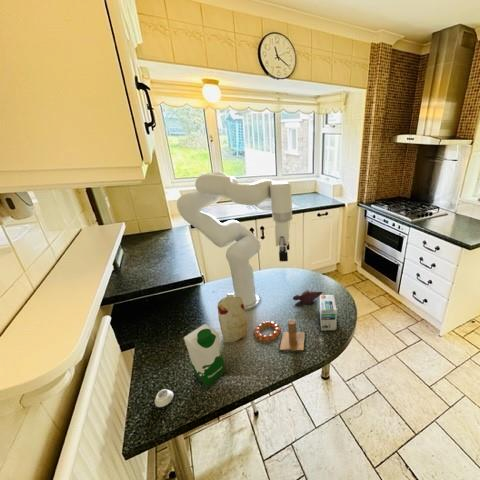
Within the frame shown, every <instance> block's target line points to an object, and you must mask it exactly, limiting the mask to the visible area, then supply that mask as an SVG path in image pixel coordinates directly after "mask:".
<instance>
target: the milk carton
mask: <svg viewBox="0 0 480 480" xmlns="http://www.w3.org/2000/svg"><path fill="white" fill-rule="evenodd" d="M183 341H184V343H185V346H186V348H187V349H186V350H187V352H188V355H189V359H190V362H191V366H192V370H193V373H194V376H195V377H196V378H197V379H198V380H199V382H201V383H202V384H203V385H205V386H206V388H210V387H211V386H212V385H213V384H214V383H215V382H216V381H218V380H219V379H220V378H221V377H223V373H225V371H226V366H225V361H224V357H223V352H222V347H221V343H220V333H219V332H218V331H217V330H215V329H213V328H212V327H211V326H210V325H209V326H208V325H207V324H206V323H203V324H201V326H199V327H198V328H196V329H195V330H193V331H191V332H189V333H188V334H187V335H186V336H183Z"/></svg>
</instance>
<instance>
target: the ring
mask: <svg viewBox="0 0 480 480" xmlns="http://www.w3.org/2000/svg"><path fill="white" fill-rule="evenodd" d="M267 327H270V328H272V329H273V332H272V333H271V334H268V335H263V334H262V333H261V332H262V330H263V329H264V328H267ZM280 334H281V327H280V324H278V323H277V322H276V321H272V320H271V321H269V320H268V321H263V322H261V323H259V324H258V325H257V326H256V327H255V328H254V331H253V335H254V337H255V339H256V340H258V341H260V342H270V341H274V340H275V339H276V338H277V337H279V335H280Z"/></svg>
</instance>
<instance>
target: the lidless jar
mask: <svg viewBox="0 0 480 480" xmlns="http://www.w3.org/2000/svg"><path fill="white" fill-rule="evenodd" d="M173 399H174V392H173V391H172V390H170V389H167V388H163V389H161V390H159V391H158V392H157V394H156V396H155V398H154V405H155V407H157V408H163V407H165V406H167V405H169V404H170V403H171V402H172V400H173Z"/></svg>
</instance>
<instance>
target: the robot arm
mask: <svg viewBox="0 0 480 480" xmlns="http://www.w3.org/2000/svg"><path fill="white" fill-rule="evenodd" d="M194 186H195V190H193V191H188V192H186V193H184V194H181V195H180V197H178V199H177V201H176V208H177V211H178V213H179V215H180V217H181V218H182V219H183V220H184V221H186V222H187V223H188V224H190V225H191V226H192V227H194V228H195V229H197V230H198V231H199V232H200V233H201V234H203V235H204V236H205V237H206V238H207V239H208V240H209V241H210V242H211V243H212V244H214V245H215V246H216V247H218V248H225V247H227V246H229V245H230V246H229V247H228V248H227V250H226V252H225V258H226V261H227V263H228V266H229V271H230V274H231V275H230V276H231V280H232V281H231V282H232V286H233V293H226V297H229V296H231V297H241V298H242V300H243V304H244V308H245V310H246V309H251V308H253V307H254V306H256V305H258V303H259V302H260V301H261V299H260V298H261V297H260V296H259V294H257V293H256V292H257V291H256V285H255V277H254V270H253V266H252V264H250V260H251V259H252V258H253V257H255V255H257V254H259V252H260V250H261V249H262V243H261V241H260V240H259V238H258V237H257V236H256V235H255V234H254V233H253V232H252V231H250V230H249V229H248V228H247V227H246V226H245V225H244V224H242V223H241V222H240V221H238V220H235V219H230V220H227V221H224V222H220V221H219V220H218V219H217V218H216V217H215V216H214V215H212V214H210V213H207V212H204V211H202V210H205V209H207V208H210V207H213V206H214V205H216V204H217V203H218V202H219V201H220V200H221V199H222V198H225V199H229V200H230V201H232V202H233V203H234V204H238V205H246V206H257V205H260V204H262V203H264V202H266V201H269V200H270V205H271V217H272V221H273V222H274V237H275V238H274V239H275V246H276V247H278V258H279V260H278V261H279V262H288V261H289V256H288V251H289V250H290V237H291V226H290V223H291V222H290V221H292V220H293V203H292V200H293V199H292V185H291V184H290V183H289V182H288V181H275V180H272V179H269V178H268V179H267V178H264V179H261V180H257V181H255V182H252V183H247V184H246V183H239V182H238V180H237V178H236V177H234V176H231V175H227V174H226V173H225V172H222V171H218V170H217V171H213V172H209V173H203V174H201V175H199V176H198V177H197V178H196V180H195V184H194Z"/></svg>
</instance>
